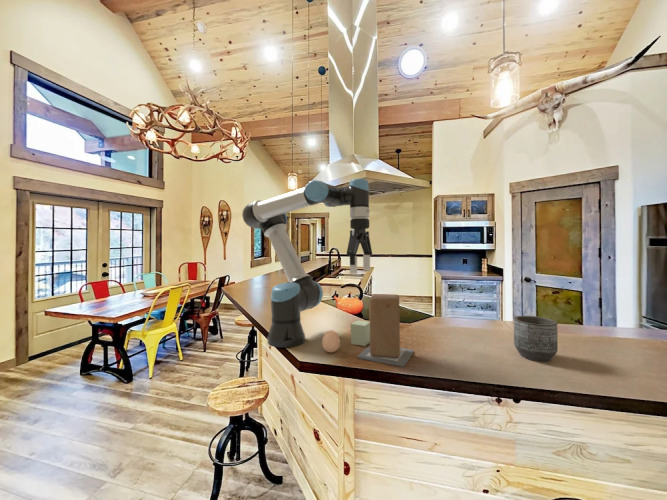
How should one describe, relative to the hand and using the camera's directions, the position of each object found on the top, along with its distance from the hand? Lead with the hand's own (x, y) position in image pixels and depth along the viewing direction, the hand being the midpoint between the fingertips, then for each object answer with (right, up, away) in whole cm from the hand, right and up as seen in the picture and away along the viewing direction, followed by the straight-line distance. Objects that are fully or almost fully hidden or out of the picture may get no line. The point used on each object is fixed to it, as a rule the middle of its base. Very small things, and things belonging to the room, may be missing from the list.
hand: (360, 272), depth 112 cm
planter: (+58, -28, -16) cm, 67 cm away
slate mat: (+8, -29, -13) cm, 32 cm away
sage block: (0, -28, +1) cm, 28 cm away
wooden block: (+8, -28, -12) cm, 31 cm away
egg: (-12, -29, -9) cm, 32 cm away
